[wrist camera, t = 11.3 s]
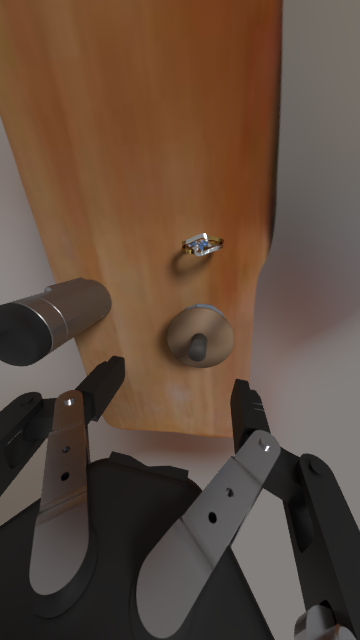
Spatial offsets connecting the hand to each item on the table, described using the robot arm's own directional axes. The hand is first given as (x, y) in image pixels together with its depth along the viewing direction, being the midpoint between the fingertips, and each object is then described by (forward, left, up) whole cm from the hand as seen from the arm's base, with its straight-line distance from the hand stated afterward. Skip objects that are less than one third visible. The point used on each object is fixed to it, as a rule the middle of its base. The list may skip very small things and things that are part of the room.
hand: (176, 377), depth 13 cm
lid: (+5, -7, -22) cm, 24 cm away
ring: (-5, +7, -28) cm, 29 cm away
